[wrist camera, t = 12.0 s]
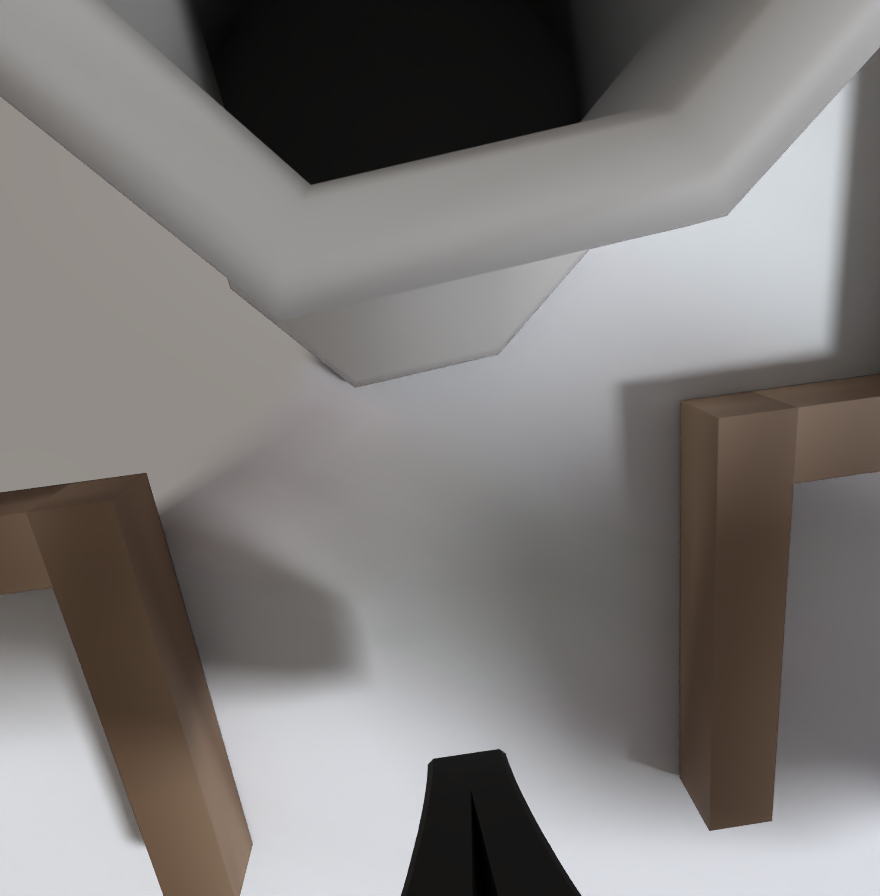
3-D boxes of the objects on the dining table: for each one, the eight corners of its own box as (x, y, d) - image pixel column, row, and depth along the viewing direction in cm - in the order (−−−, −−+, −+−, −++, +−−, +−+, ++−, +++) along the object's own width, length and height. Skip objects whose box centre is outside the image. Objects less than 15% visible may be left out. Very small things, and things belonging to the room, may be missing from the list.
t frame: (1068, -386, 9) (1196, -510, 8) (904, 742, 15) (957, 791, 14) (-506, -239, 8) (-696, -345, 7) (11, 881, 15) (-31, 948, 13)
